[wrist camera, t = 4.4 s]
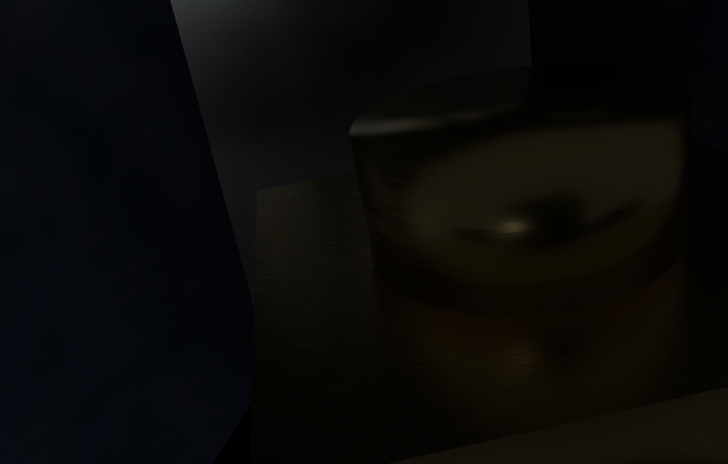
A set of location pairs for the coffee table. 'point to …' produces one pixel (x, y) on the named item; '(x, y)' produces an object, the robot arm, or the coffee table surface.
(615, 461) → the brass valve
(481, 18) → the plate with two spools
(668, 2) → the coffee table surface
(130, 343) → the coffee table surface
